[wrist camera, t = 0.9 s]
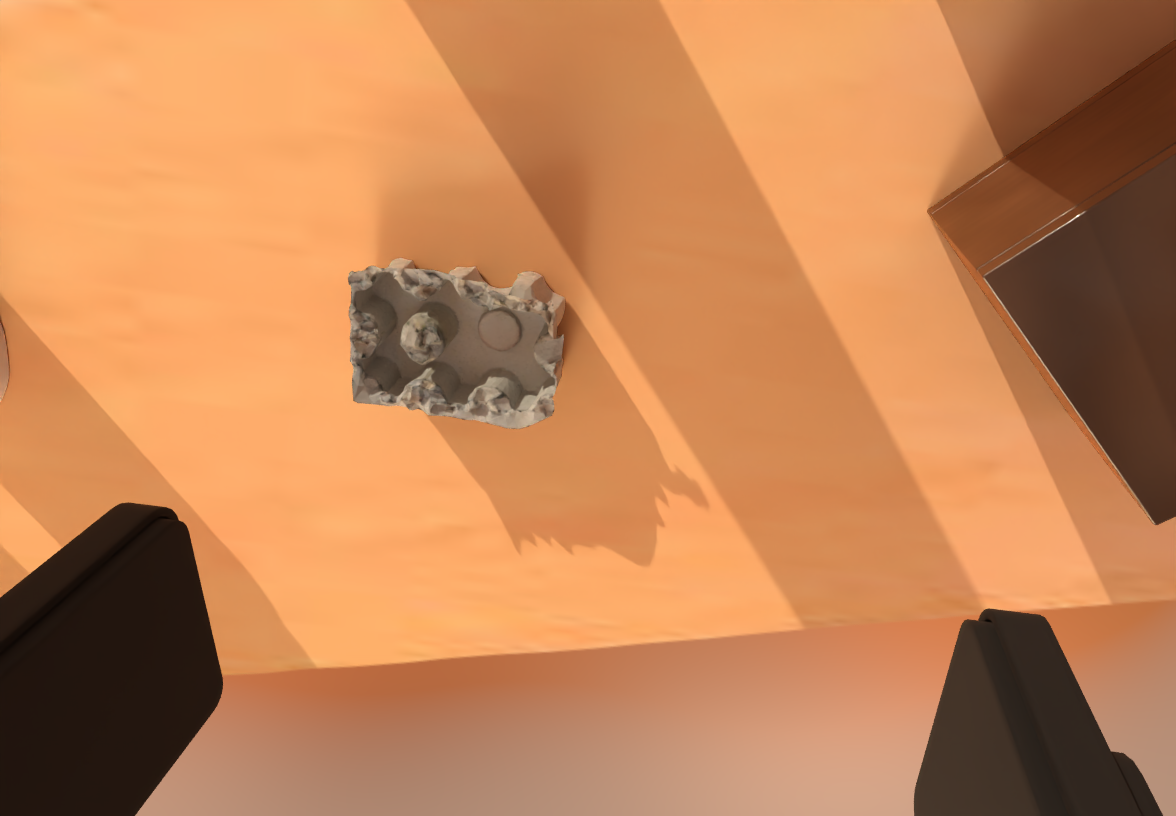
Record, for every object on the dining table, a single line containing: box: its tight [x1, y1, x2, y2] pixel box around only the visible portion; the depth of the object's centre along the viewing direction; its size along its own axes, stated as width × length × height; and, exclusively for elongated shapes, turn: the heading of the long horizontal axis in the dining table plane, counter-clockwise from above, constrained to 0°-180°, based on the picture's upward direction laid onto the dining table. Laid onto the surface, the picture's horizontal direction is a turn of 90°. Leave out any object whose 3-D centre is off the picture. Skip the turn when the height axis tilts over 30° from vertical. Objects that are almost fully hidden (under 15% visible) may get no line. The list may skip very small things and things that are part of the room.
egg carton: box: [348, 258, 566, 429], centre depth 42 cm, size 11×8×4 cm
